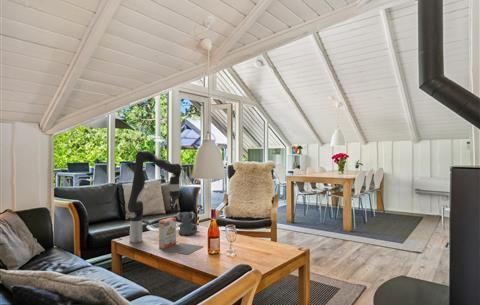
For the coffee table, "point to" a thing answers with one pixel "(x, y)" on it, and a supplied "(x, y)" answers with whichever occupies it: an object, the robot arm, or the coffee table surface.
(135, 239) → the robot arm
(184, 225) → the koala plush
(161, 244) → the cracker box
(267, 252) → the coffee table surface
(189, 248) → the mat
